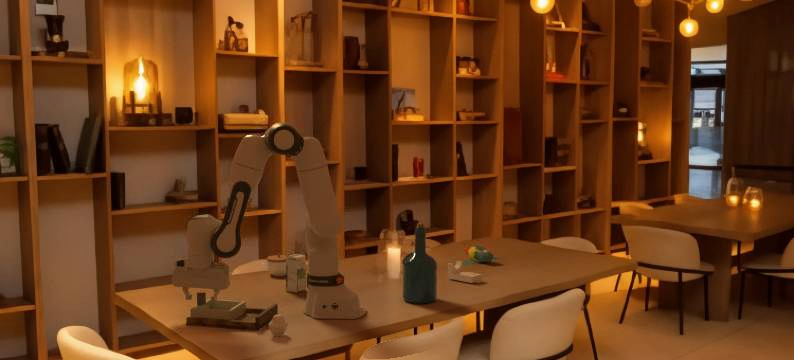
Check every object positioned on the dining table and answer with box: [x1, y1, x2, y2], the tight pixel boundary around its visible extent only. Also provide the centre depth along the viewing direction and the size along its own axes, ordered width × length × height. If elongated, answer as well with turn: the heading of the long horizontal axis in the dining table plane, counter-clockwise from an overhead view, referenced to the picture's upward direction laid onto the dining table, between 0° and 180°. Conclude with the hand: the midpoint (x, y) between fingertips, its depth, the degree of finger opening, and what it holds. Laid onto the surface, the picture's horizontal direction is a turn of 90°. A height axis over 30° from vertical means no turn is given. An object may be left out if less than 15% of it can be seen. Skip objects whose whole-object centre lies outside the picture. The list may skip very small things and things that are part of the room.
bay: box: [185, 303, 279, 331], centre depth 251 cm, size 26×17×4 cm, turn 78°
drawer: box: [190, 291, 247, 320], centre depth 252 cm, size 15×14×8 cm
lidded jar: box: [266, 253, 288, 277], centre depth 323 cm, size 11×11×9 cm
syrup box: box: [285, 253, 307, 294], centre depth 294 cm, size 6×6×14 cm
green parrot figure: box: [453, 244, 500, 267], centre depth 354 cm, size 28×9×15 cm
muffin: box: [267, 314, 288, 337], centre depth 235 cm, size 6×6×7 cm
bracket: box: [447, 260, 483, 284], centre depth 314 cm, size 13×7×8 cm, turn 48°
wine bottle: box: [401, 222, 438, 305], centre depth 280 cm, size 14×13×30 cm
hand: (201, 300), depth 253 cm, fingers open, 8 cm apart
